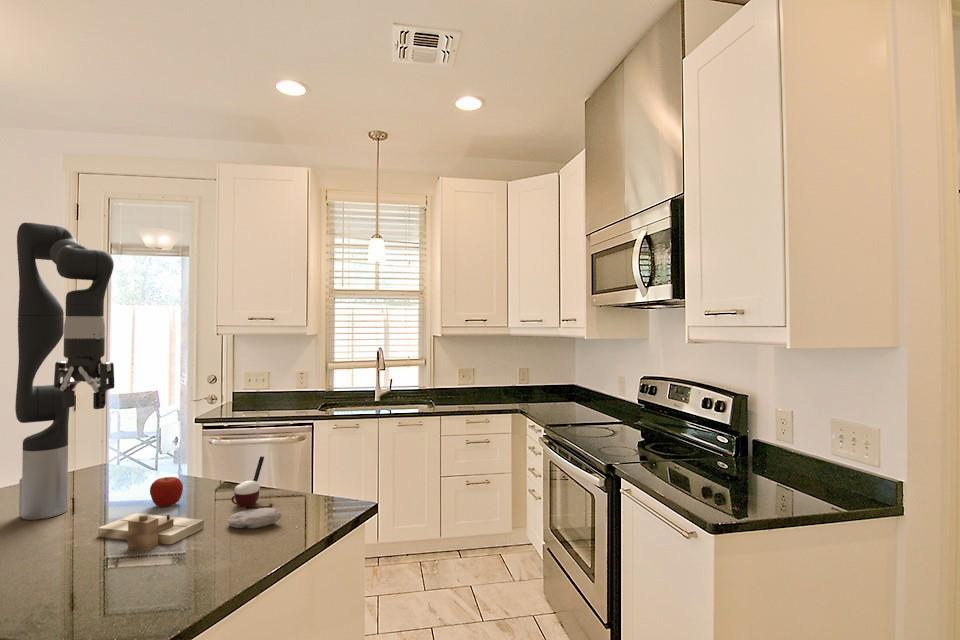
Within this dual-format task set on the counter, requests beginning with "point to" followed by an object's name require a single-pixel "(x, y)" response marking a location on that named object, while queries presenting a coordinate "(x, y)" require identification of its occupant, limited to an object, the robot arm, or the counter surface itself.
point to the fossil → (254, 518)
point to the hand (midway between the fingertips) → (83, 407)
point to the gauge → (146, 531)
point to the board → (166, 536)
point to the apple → (166, 491)
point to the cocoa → (248, 489)
